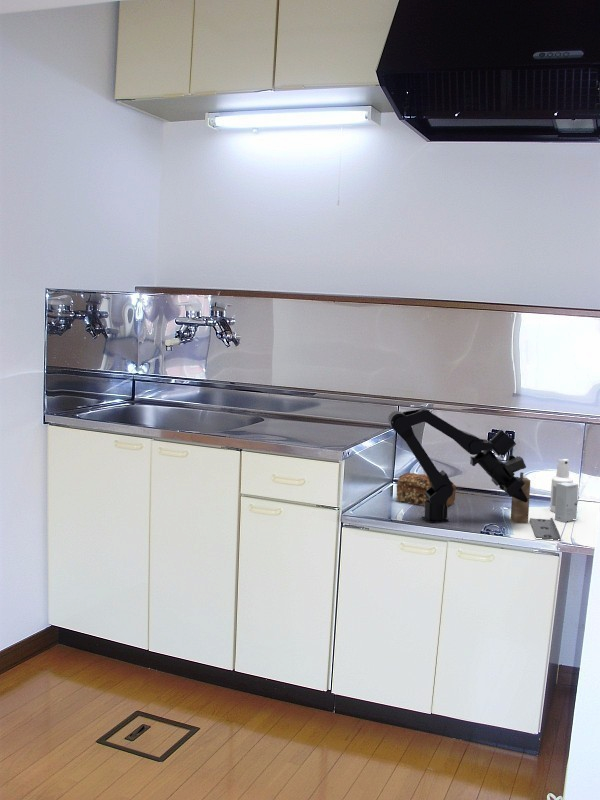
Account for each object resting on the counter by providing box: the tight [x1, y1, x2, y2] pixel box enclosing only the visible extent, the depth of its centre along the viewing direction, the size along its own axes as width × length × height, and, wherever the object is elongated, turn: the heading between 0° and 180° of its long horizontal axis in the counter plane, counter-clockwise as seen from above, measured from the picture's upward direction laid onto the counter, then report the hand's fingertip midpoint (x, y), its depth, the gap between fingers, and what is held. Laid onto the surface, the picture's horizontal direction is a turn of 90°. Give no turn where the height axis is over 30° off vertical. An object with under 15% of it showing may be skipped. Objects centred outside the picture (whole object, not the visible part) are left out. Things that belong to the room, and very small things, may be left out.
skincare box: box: [554, 482, 579, 523], centre depth 272 cm, size 6×4×12 cm
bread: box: [395, 472, 457, 507], centre depth 291 cm, size 19×11×10 cm, turn 58°
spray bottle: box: [549, 458, 574, 513], centre depth 283 cm, size 7×7×18 cm
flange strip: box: [529, 517, 561, 541], centre depth 259 cm, size 22×7×1 cm, turn 169°
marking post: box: [510, 472, 531, 524], centre depth 269 cm, size 4×4×16 cm
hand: (524, 499), depth 269 cm, fingers closed on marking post, 4 cm apart
